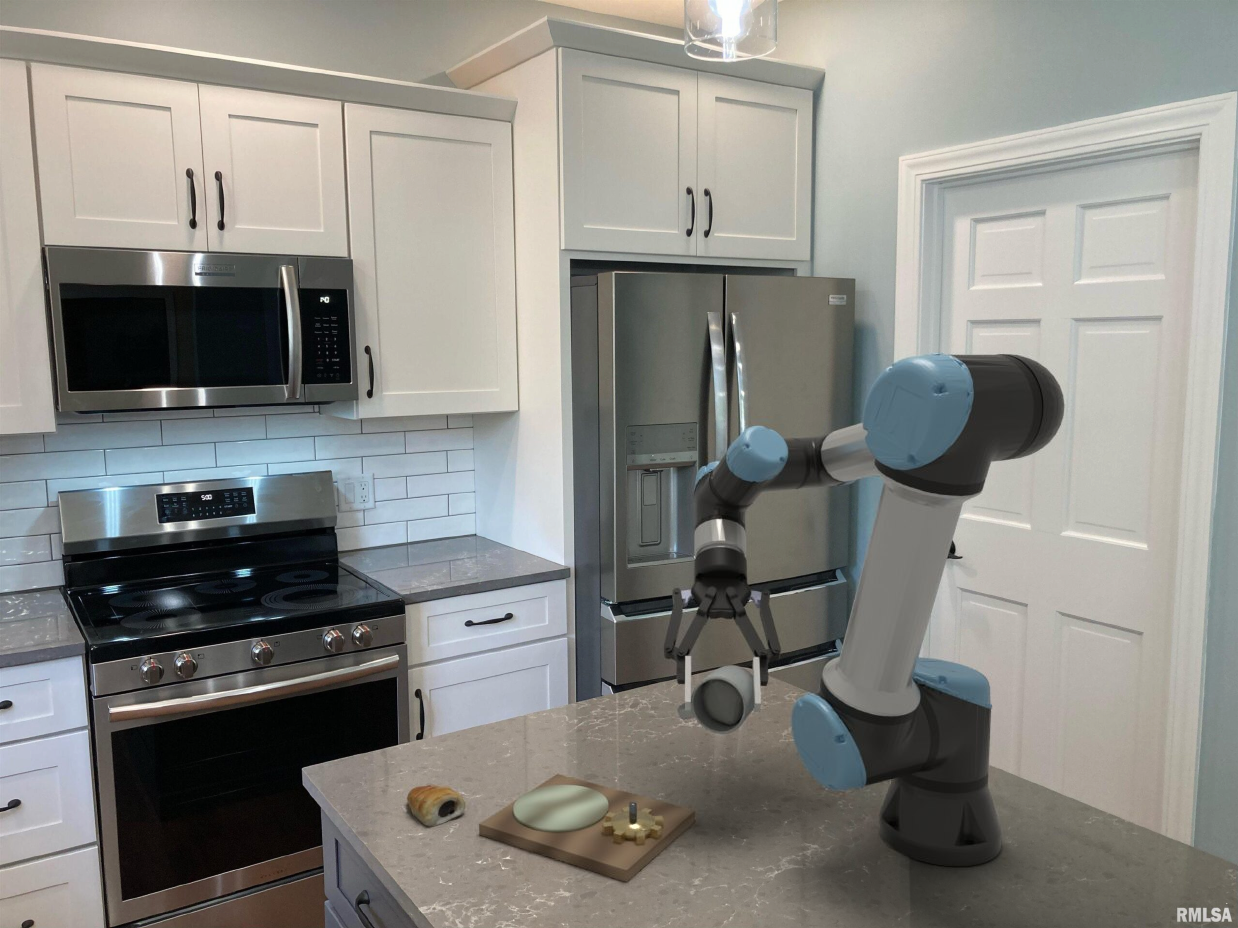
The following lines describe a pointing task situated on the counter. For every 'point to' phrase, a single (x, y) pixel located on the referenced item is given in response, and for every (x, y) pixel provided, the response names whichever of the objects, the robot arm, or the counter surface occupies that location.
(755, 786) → the counter surface
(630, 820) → the gear
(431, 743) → the counter surface
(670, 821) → the gear board
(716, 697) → the ceramic mug
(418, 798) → the pastry
